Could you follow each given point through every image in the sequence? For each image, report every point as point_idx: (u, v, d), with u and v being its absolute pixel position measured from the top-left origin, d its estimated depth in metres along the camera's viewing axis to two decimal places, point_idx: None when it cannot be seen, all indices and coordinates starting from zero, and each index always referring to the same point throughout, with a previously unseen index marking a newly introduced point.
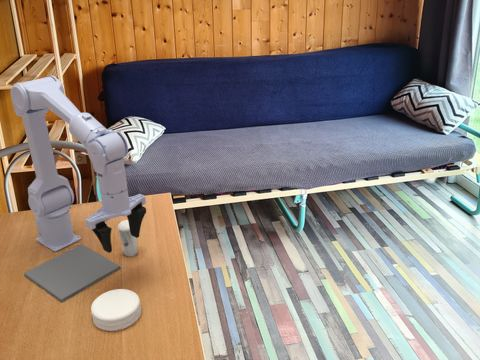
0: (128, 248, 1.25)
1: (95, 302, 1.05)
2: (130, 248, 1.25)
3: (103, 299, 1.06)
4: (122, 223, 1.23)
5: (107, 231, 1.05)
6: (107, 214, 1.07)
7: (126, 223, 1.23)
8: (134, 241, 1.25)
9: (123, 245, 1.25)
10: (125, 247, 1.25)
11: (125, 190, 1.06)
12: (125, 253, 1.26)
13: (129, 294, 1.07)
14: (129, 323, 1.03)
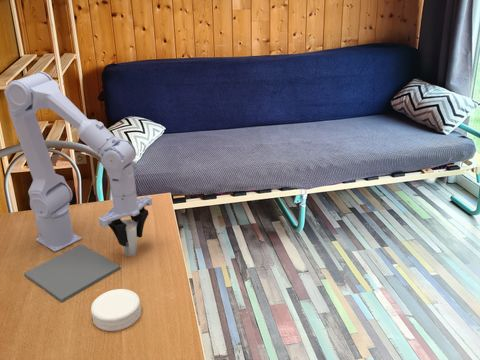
0: (128, 248, 1.25)
1: (95, 302, 1.05)
2: (130, 247, 1.25)
3: (103, 299, 1.06)
4: (123, 222, 1.23)
5: (123, 227, 1.19)
6: (118, 214, 1.19)
7: (127, 222, 1.23)
8: (134, 241, 1.25)
9: None
10: (125, 247, 1.25)
11: (134, 192, 1.19)
12: (125, 253, 1.26)
13: (129, 294, 1.07)
14: (129, 323, 1.03)
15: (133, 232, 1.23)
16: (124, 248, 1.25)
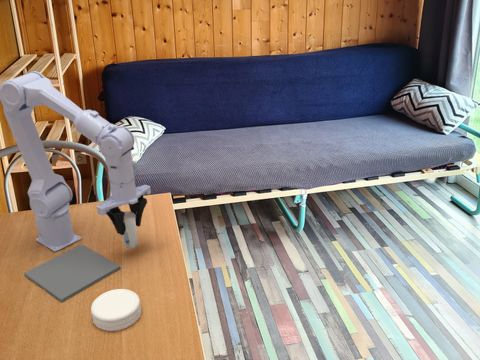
0: (128, 240, 1.24)
1: (95, 302, 1.05)
2: (130, 239, 1.24)
3: (103, 299, 1.06)
4: None
5: (121, 215, 1.18)
6: (116, 202, 1.18)
7: (125, 215, 1.22)
8: (134, 232, 1.24)
9: (123, 237, 1.24)
10: (125, 239, 1.24)
11: (132, 180, 1.18)
12: (125, 245, 1.25)
13: (129, 294, 1.07)
14: (129, 323, 1.03)
15: (132, 224, 1.22)
16: (124, 240, 1.25)
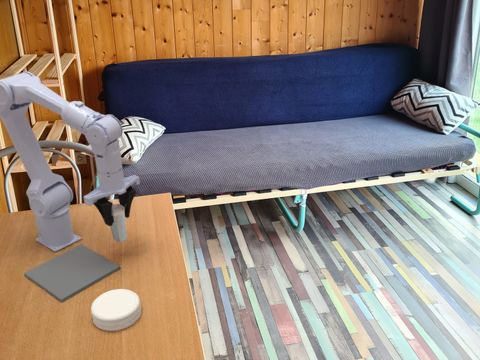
0: (117, 233, 1.22)
1: (95, 302, 1.05)
2: (119, 233, 1.22)
3: (103, 299, 1.06)
4: None
5: (108, 205, 1.15)
6: (104, 192, 1.16)
7: (114, 207, 1.20)
8: (123, 226, 1.22)
9: (112, 230, 1.22)
10: (114, 232, 1.22)
11: (120, 170, 1.15)
12: (115, 238, 1.23)
13: (129, 294, 1.07)
14: (129, 323, 1.03)
15: (121, 217, 1.20)
16: (113, 234, 1.22)
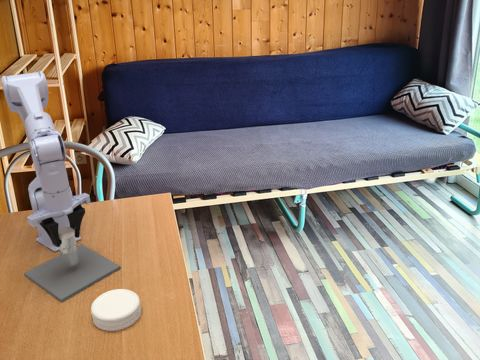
0: (68, 257, 1.17)
1: (95, 302, 1.05)
2: (70, 257, 1.17)
3: (103, 299, 1.06)
4: (59, 231, 1.15)
5: (54, 226, 1.10)
6: (49, 212, 1.11)
7: (63, 231, 1.15)
8: (74, 249, 1.17)
9: (62, 254, 1.17)
10: (64, 256, 1.17)
11: (66, 189, 1.10)
12: (65, 263, 1.18)
13: (129, 294, 1.07)
14: (129, 323, 1.03)
15: (71, 240, 1.16)
16: (63, 258, 1.18)
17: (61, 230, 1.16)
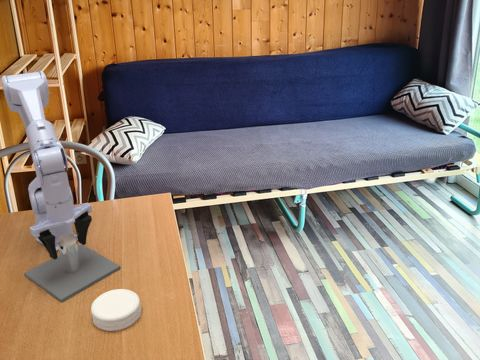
0: (69, 264, 1.18)
1: (95, 302, 1.05)
2: (71, 263, 1.18)
3: (103, 299, 1.06)
4: (61, 238, 1.16)
5: (51, 239, 1.11)
6: (51, 223, 1.12)
7: (66, 237, 1.16)
8: (75, 256, 1.18)
9: (64, 261, 1.18)
10: (66, 263, 1.18)
11: (68, 200, 1.12)
12: (66, 269, 1.19)
13: (129, 294, 1.07)
14: (129, 323, 1.03)
15: (73, 247, 1.17)
16: (65, 264, 1.18)
17: (63, 237, 1.17)
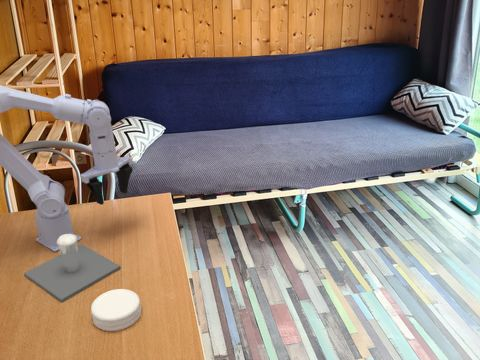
0: (69, 264, 1.18)
1: (95, 302, 1.05)
2: (71, 263, 1.18)
3: (103, 299, 1.06)
4: (61, 238, 1.16)
5: (99, 185, 1.25)
6: (99, 171, 1.27)
7: (66, 237, 1.16)
8: (76, 256, 1.18)
9: (64, 261, 1.18)
10: (66, 263, 1.18)
11: (113, 150, 1.26)
12: (66, 269, 1.19)
13: (129, 294, 1.07)
14: (129, 323, 1.03)
15: (73, 247, 1.17)
16: (65, 264, 1.18)
17: (63, 237, 1.17)
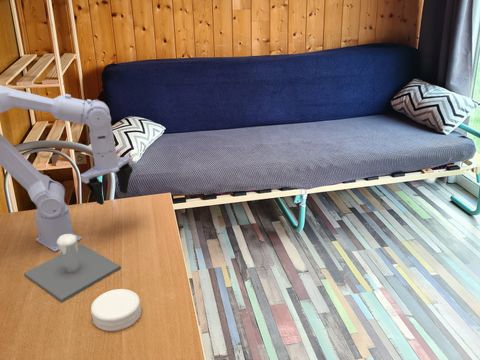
0: (69, 264, 1.18)
1: (95, 302, 1.05)
2: (71, 263, 1.18)
3: (103, 299, 1.06)
4: (61, 238, 1.16)
5: (99, 185, 1.25)
6: (99, 171, 1.27)
7: (66, 237, 1.16)
8: (75, 256, 1.18)
9: (64, 261, 1.18)
10: (66, 263, 1.18)
11: (113, 150, 1.26)
12: (66, 269, 1.19)
13: (129, 294, 1.07)
14: (129, 323, 1.03)
15: (73, 247, 1.17)
16: (65, 264, 1.18)
17: (63, 237, 1.17)
